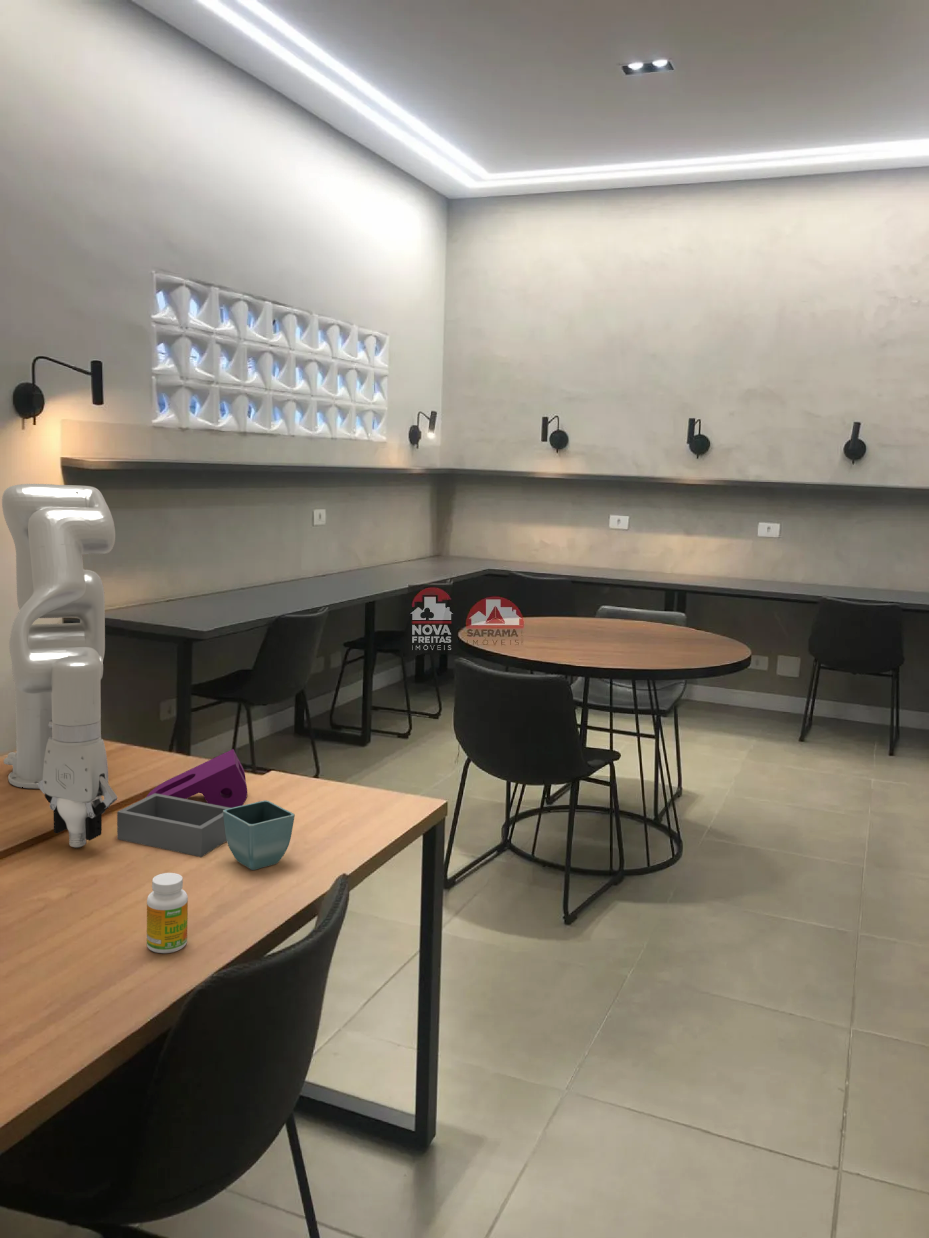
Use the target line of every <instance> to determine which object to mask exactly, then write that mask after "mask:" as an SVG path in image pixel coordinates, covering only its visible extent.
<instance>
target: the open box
mask: <svg viewBox="0 0 929 1238" xmlns="http://www.w3.org/2000/svg"><path fill="white" fill-rule="evenodd" d="M225 809H229V807H224V806H219V805H214V804H208V803H207V802H202V801H196V800H192V799H189V798H187V799H182V798H177V797H172V796H167V795H162V794H156V793H154V794H152V795H150V796H148V797H147V796H146V797H145V798H142V799H140V800H138V801H137V802H134V803H132V804H130V805H128V806H126V807H124V808H121V809H119V810H118V811H117V812H116V820H117V821H116V822H117V823H116V826H117V827H116V829H117V831H116V834H117V835H116V837H117V840H120V841H124V842H127V843H134V844H138V845H144V846H148V847H153V848H157V849H162V850H167V851H172V852H176V853H180V854H181V853H182V854H185V855H190V856H195V857H199V858H202V857H204V856H205V855H207V854H208V853H210V852H212V851H213V850H215V849H217V848H218V847H219V846H221V845H222V844H225V843H227V840H226V834H225V826H224V816H223V810H225Z"/></svg>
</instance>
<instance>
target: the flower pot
mask: <svg viewBox="0 0 929 1238" xmlns="http://www.w3.org/2000/svg"><path fill="white" fill-rule="evenodd" d="M223 816H224V826H225V834H226V840H227V841H226V843H227V846H228V848H229V850H230V852H231V854H232V855H233V857H234V859H235V861H237V862H238V863H240V864H241V865H243V866H244V867H247V869H249V870H251V871H256V870H259V869H262V868H266V867H269V866H273V865H276V864H278V863H279V862H280V861H281V859H282V858H283V857H284V855H285V853H286V852H287V849H288V847H289V845H290V843H291V842H290V841H291V838H292V833H293V828H294V823H295V816H296V815H295V813H293V812H292V811H290V810H287V809H285V808H283V807H281V806H280V805H277V804H275V803H274V802H272V801H270V800H259V801H256V802H252V803H247V804H243V805H242V806H238V807H234V808H229V809H225V810H223Z"/></svg>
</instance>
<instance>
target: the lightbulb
mask: <svg viewBox="0 0 929 1238" xmlns="http://www.w3.org/2000/svg"><path fill="white" fill-rule="evenodd" d="M93 805H94V808H95V807H96V803H95V801H93ZM57 810H58V813H59V814H60V816H61V817H62V818H63V820H64V821H65V822H66V826H67V829H66V830H67V831H68V837H69V840H68V843H69V846H70V847H72V848H74V849H80V848H81V847H83V846H85V845H86V844H87V840H86V835H85V819H86V817H89V815H88V812H87V809H86V806H85V803H80V802H75V801H71V800H68V799H62V798H58V799H57Z"/></svg>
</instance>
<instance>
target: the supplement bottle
mask: <svg viewBox="0 0 929 1238" xmlns="http://www.w3.org/2000/svg"><path fill="white" fill-rule="evenodd" d="M183 878H184V877H183V876H182V875H181V874H179V873H176V872H163V873H160V874H157V875H155V876H153V878H152V882H151V883H152V885H151V888H152V891H151V892H150V893H149V894H148V896H147V897H146V898H147V899H146V946H147V949H148V950H150V951H151V952H154V953H158V954H170V953H174V952H177V951H180V950H181V949H183V948H184V947H185V946H186V944H187V943H188V919H189V918H188V912H189V910H188V908H189V907H188V906H189V903H188V902H189V899H188V898H189V897H188V894H187V891H185V890H184V889H183V883H184V880H183Z"/></svg>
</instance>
